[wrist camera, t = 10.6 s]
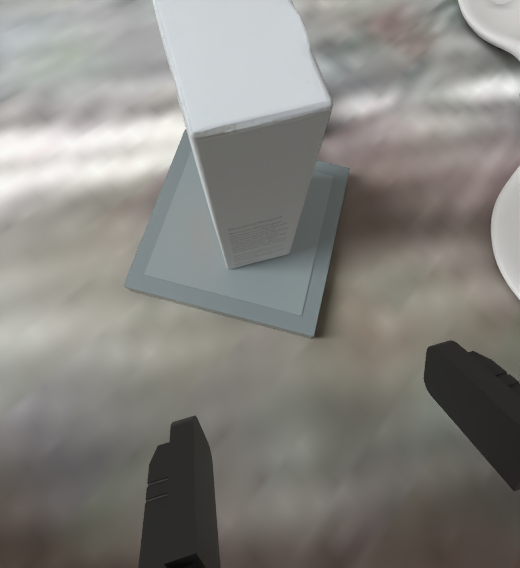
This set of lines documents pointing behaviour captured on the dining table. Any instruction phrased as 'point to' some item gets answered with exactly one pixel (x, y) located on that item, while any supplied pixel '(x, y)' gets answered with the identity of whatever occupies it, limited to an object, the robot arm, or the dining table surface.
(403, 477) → the dining table surface
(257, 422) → the dining table surface
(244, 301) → the plate
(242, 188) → the skincare box
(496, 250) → the spoon
